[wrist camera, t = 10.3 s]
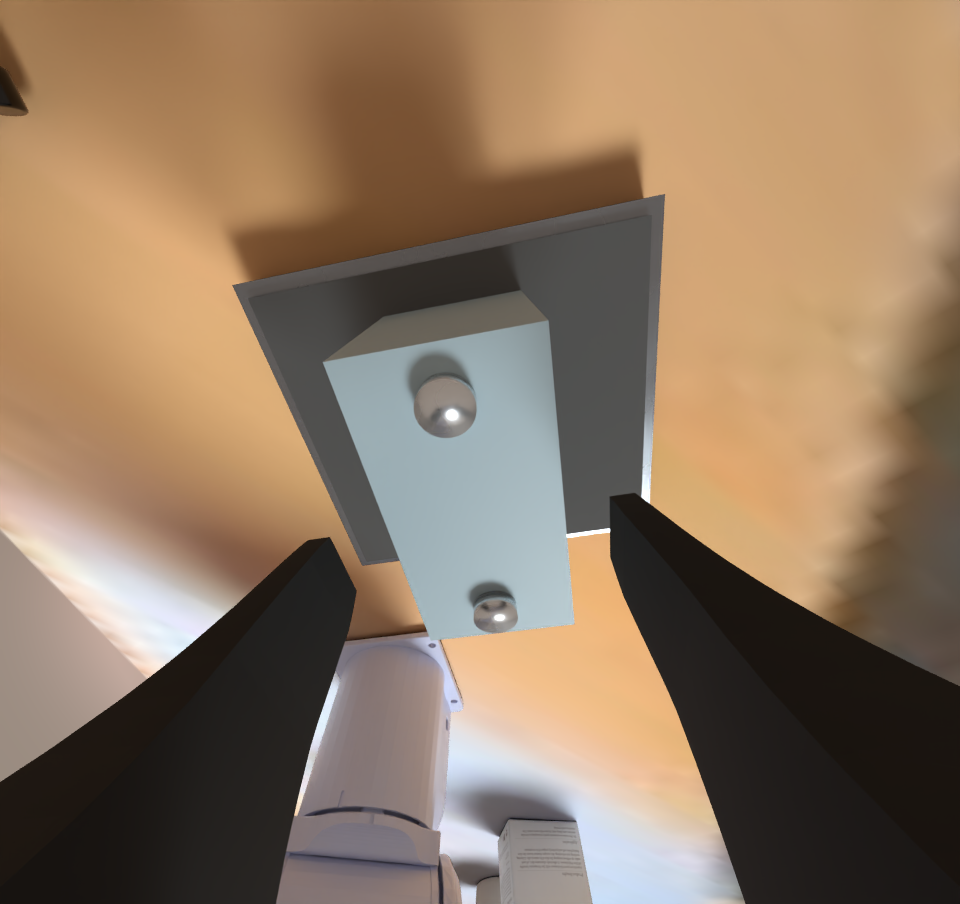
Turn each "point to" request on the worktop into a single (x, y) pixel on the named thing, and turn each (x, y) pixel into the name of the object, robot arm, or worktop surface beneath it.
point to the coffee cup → (488, 891)
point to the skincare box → (542, 863)
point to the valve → (10, 96)
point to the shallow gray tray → (476, 274)
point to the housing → (464, 460)
